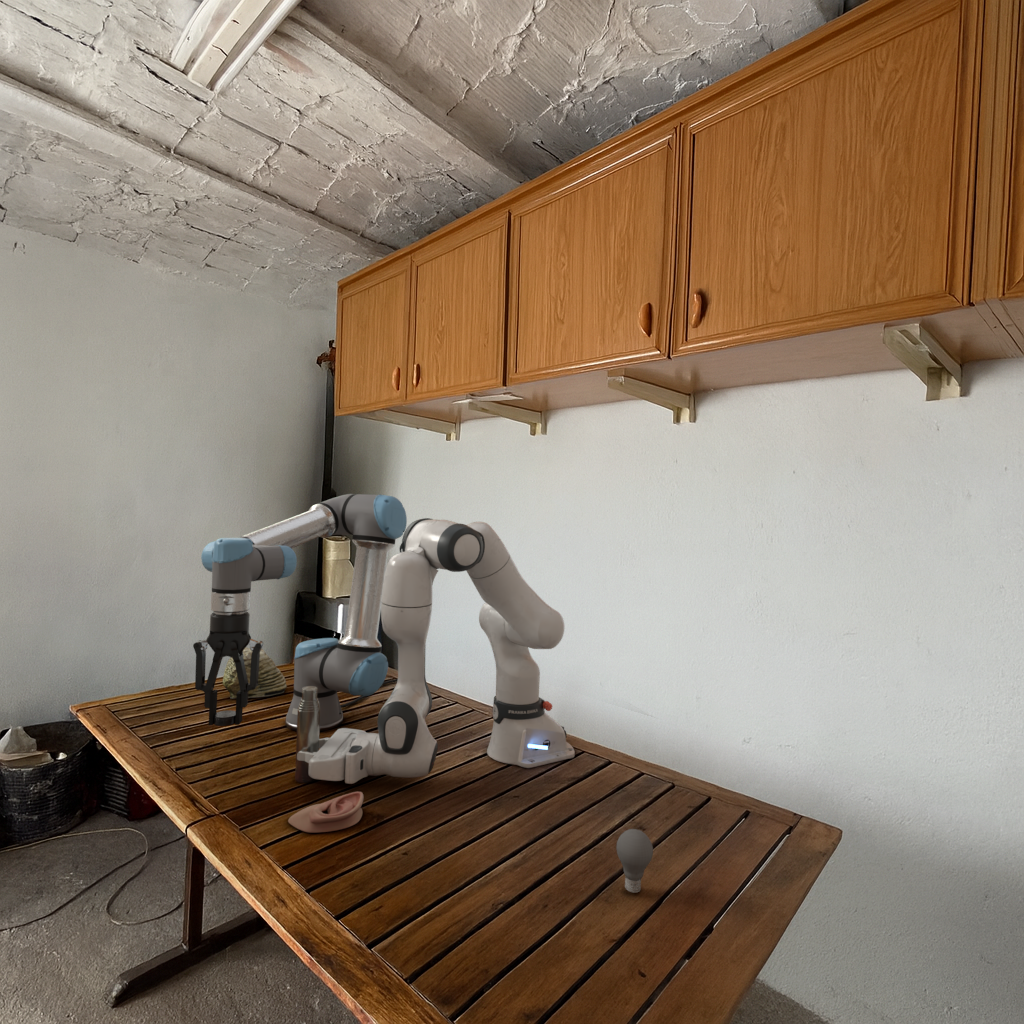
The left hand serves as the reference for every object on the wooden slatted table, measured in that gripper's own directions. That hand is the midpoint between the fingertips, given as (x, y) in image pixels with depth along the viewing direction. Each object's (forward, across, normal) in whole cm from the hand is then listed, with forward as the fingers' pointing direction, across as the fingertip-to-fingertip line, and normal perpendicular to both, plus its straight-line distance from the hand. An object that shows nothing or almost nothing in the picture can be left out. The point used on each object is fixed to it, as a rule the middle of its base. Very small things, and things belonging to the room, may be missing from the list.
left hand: (225, 722), depth 133 cm
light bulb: (+15, +75, -41) cm, 87 cm away
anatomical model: (+15, +22, -13) cm, 30 cm away
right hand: (+9, +15, +7) cm, 19 cm away
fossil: (+15, -8, +68) cm, 70 cm away
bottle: (+15, +16, +6) cm, 23 cm away
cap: (-2, 0, 0) cm, 2 cm away
